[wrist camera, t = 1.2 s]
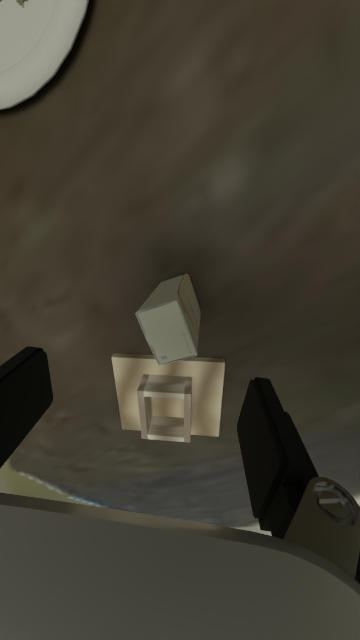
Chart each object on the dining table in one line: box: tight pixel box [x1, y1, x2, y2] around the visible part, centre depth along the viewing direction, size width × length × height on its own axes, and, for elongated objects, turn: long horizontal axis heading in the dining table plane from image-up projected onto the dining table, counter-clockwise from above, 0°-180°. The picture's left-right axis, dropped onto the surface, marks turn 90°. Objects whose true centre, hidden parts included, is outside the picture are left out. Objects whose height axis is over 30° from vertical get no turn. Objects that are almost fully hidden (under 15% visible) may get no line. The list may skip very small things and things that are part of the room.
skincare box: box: [136, 274, 201, 365], centre depth 27 cm, size 6×4×12 cm
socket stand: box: [112, 353, 225, 442], centre depth 37 cm, size 18×16×5 cm
